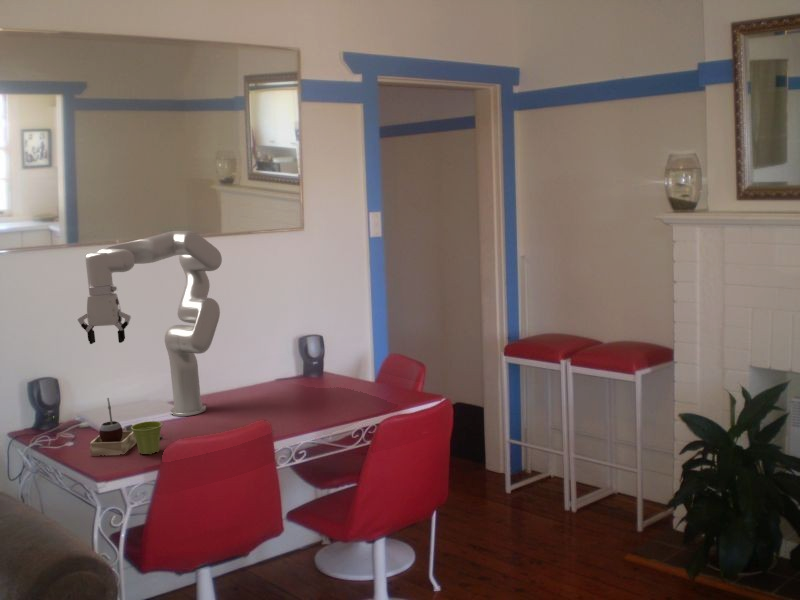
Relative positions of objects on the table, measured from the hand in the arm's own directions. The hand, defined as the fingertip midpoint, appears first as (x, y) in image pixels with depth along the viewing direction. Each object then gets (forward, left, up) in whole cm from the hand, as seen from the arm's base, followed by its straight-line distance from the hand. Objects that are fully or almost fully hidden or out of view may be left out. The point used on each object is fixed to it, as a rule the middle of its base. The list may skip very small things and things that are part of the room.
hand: (107, 342), depth 307 cm
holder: (+12, +3, -32) cm, 35 cm away
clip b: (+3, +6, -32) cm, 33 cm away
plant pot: (+16, +16, -32) cm, 39 cm away
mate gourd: (+12, +3, -32) cm, 34 cm away
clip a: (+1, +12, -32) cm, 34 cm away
